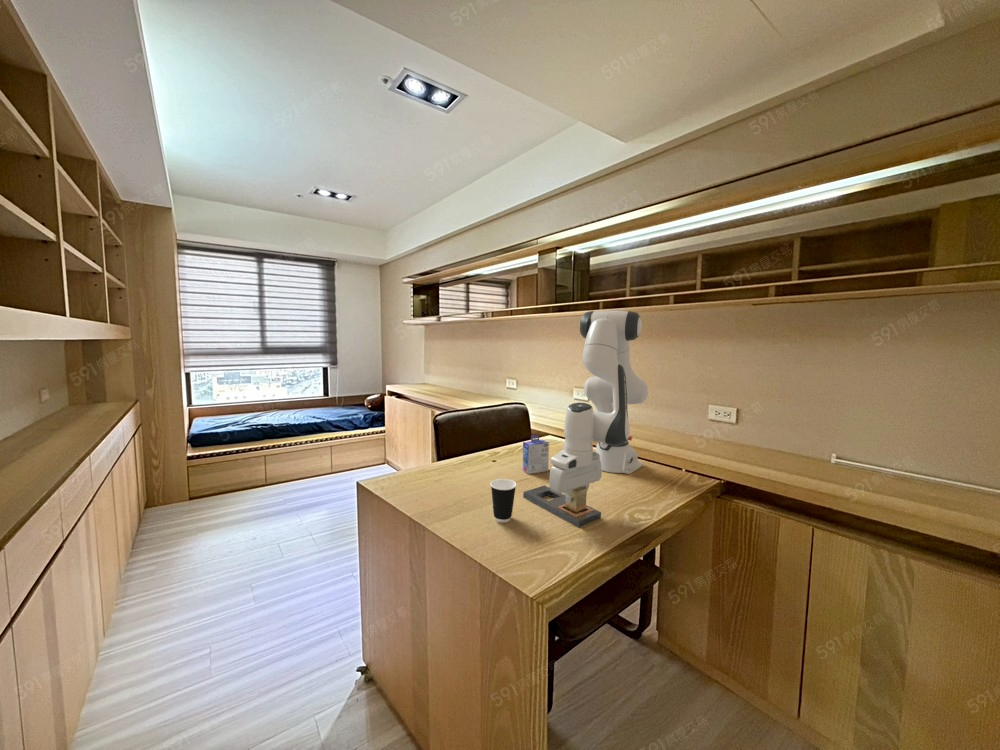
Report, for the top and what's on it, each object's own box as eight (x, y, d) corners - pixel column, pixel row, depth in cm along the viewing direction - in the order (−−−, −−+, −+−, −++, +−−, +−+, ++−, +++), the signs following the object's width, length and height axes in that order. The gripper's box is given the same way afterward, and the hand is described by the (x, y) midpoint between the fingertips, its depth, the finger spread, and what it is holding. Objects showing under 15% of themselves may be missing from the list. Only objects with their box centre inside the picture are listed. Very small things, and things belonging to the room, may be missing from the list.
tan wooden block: (574, 504, 121) (575, 483, 120) (585, 510, 117) (586, 488, 117) (564, 508, 118) (565, 486, 118) (575, 514, 115) (576, 491, 114)
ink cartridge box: (542, 467, 161) (543, 433, 159) (549, 471, 156) (550, 437, 154) (521, 470, 157) (522, 435, 155) (528, 474, 152) (529, 439, 150)
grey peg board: (544, 490, 136) (544, 484, 136) (600, 518, 116) (601, 511, 116) (523, 497, 130) (523, 491, 130) (578, 527, 110) (579, 520, 110)
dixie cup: (484, 518, 115) (484, 483, 114) (503, 510, 120) (503, 476, 119) (502, 528, 109) (503, 491, 108) (521, 519, 115) (522, 484, 114)
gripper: (591, 448, 125) (589, 488, 126) (546, 459, 113) (545, 504, 114) (607, 453, 120) (605, 495, 121) (562, 465, 108) (560, 512, 109)
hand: (575, 499), depth 117 cm, fingers closed on tan wooden block, 4 cm apart
